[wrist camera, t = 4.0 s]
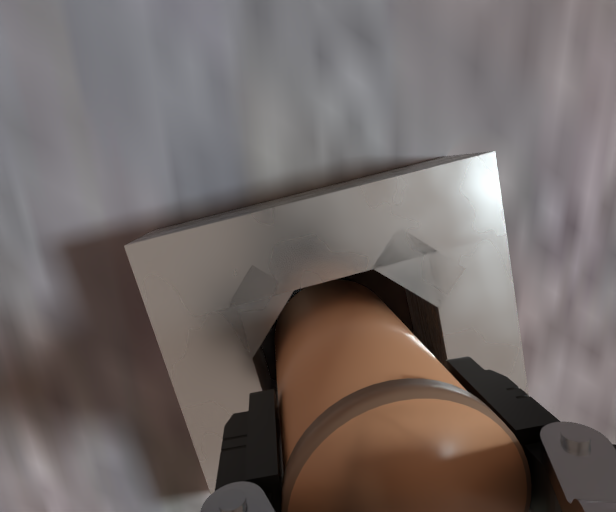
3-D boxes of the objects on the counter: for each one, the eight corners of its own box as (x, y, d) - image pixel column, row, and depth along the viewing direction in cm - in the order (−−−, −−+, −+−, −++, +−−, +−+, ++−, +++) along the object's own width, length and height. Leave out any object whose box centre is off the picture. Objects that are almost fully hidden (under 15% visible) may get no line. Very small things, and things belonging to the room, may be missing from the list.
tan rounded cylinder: (262, 288, 16) (262, 421, 8) (388, 267, 17) (529, 372, 8) (281, 404, 17) (301, 639, 9) (399, 382, 18) (533, 586, 9)
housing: (153, 230, 16) (123, 245, 12) (447, 156, 16) (495, 151, 13) (238, 486, 18) (232, 557, 15) (488, 412, 19) (537, 465, 16)
